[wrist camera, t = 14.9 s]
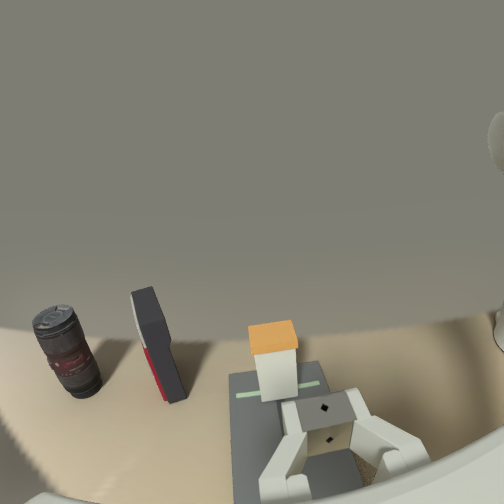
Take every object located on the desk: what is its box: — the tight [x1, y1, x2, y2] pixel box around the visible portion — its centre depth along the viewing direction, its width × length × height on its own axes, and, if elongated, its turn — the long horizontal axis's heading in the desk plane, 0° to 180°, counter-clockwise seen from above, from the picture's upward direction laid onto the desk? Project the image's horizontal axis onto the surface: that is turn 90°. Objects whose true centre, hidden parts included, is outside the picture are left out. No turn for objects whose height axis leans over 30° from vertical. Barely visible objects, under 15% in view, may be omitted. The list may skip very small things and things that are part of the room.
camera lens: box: [32, 305, 102, 399], centre depth 43 cm, size 8×8×15 cm
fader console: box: [229, 361, 365, 504], centre depth 35 cm, size 14×24×1 cm, turn 5°
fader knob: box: [248, 320, 298, 402], centre depth 40 cm, size 6×5×10 cm
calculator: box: [130, 286, 187, 404], centre depth 45 cm, size 11×4×15 cm, turn 26°
